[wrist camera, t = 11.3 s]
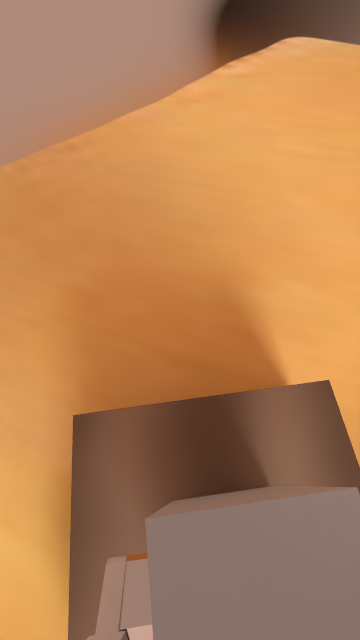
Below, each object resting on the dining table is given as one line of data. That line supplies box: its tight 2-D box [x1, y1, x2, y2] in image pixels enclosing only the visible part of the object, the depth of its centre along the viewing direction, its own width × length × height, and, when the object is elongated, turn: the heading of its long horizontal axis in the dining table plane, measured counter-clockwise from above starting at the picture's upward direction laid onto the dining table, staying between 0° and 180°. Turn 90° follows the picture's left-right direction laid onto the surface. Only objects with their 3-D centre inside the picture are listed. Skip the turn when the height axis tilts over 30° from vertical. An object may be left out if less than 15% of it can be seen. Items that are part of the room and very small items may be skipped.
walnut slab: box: [68, 380, 360, 640], centre depth 15 cm, size 12×12×5 cm
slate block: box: [145, 486, 360, 640], centre depth 9 cm, size 4×4×8 cm
